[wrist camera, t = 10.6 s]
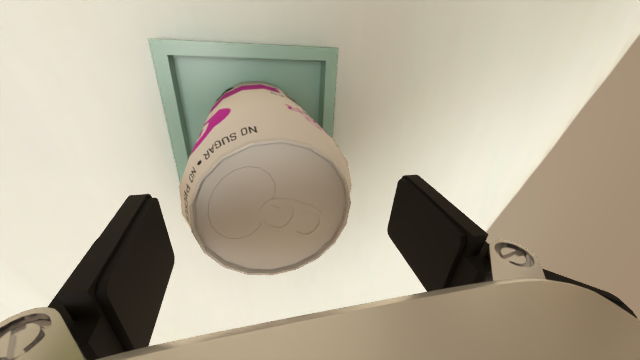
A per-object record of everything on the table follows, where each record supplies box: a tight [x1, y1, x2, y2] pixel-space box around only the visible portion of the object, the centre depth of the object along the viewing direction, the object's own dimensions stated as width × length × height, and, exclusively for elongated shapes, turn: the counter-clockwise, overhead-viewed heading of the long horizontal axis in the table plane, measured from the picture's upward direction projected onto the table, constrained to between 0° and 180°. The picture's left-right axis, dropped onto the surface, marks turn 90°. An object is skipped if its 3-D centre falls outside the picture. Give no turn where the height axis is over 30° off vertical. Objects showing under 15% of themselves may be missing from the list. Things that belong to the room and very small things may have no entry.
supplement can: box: [179, 81, 351, 275], centre depth 18 cm, size 8×8×15 cm
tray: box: [148, 39, 338, 182], centre depth 24 cm, size 14×14×2 cm
